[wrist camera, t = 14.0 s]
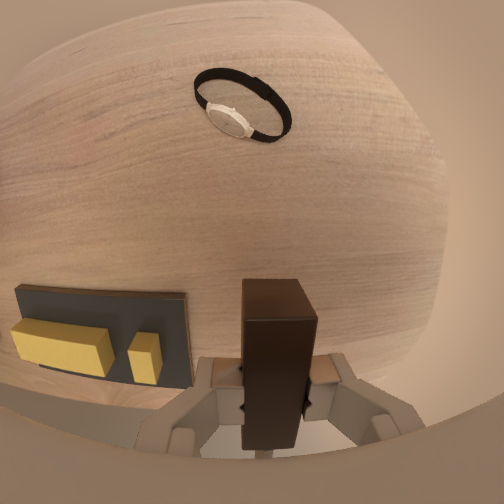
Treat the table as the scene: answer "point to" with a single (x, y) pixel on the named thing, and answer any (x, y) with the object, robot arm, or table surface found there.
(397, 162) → the table surface
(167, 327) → the butter dish
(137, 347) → the butter pat
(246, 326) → the dark brown boxy part
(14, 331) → the butter block
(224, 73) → the watch
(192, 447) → the robot arm
